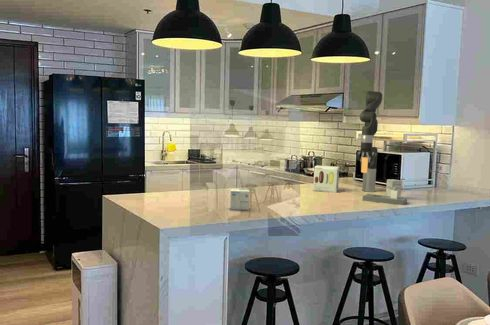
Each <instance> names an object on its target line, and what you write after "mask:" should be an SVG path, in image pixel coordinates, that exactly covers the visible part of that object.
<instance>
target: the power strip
mask: <svg viewBox="0 0 490 325" xmlns="http://www.w3.org/2000/svg"><path fill="white" fill-rule="evenodd" d="M396 189H397V187H393V190H391V196H386V195H381V194H373V193H372V194H371V193H367V194H365V195H362V201H365V202H374V203H380V204H381V203H382V204H392V205H400V206H405V205H406V204H407V203H408V198H407V197H398V192H399V190H396Z"/></svg>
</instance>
